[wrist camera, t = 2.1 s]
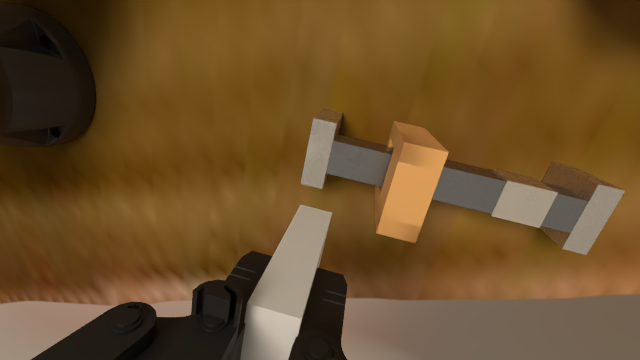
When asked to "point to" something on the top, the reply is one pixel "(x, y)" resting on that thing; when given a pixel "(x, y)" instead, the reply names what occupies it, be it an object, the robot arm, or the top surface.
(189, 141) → the top surface
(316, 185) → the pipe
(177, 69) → the top surface
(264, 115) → the top surface
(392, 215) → the collar
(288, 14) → the top surface
